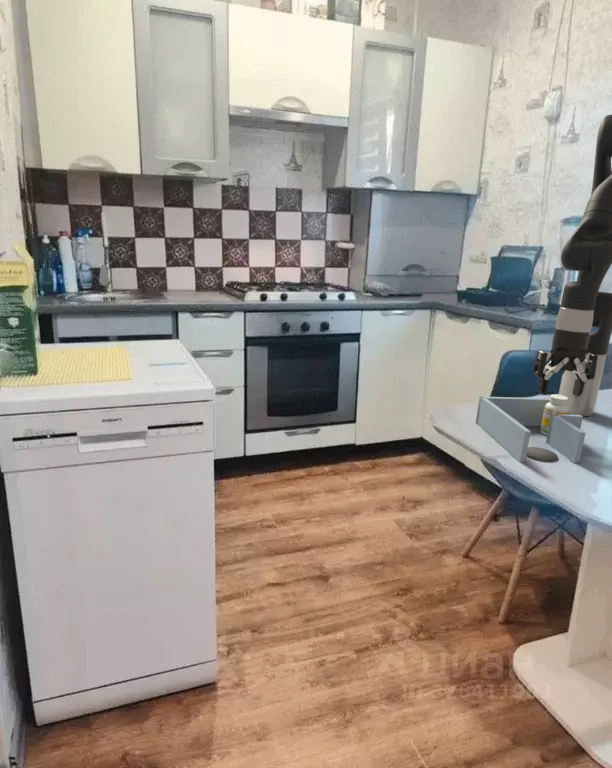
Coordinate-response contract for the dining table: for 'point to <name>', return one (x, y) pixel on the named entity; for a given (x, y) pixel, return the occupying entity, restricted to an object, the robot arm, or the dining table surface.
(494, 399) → the channel
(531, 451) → the pad
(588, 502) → the dining table surface
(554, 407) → the supplement bottle
